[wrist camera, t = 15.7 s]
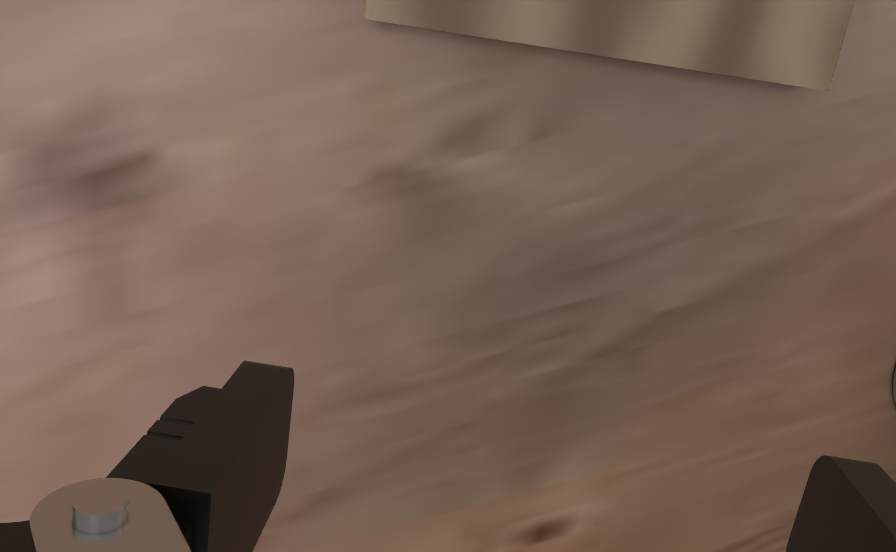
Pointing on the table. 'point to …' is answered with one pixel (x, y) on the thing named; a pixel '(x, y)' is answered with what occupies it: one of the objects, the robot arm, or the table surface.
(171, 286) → the table surface
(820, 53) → the walnut stand
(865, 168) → the table surface
